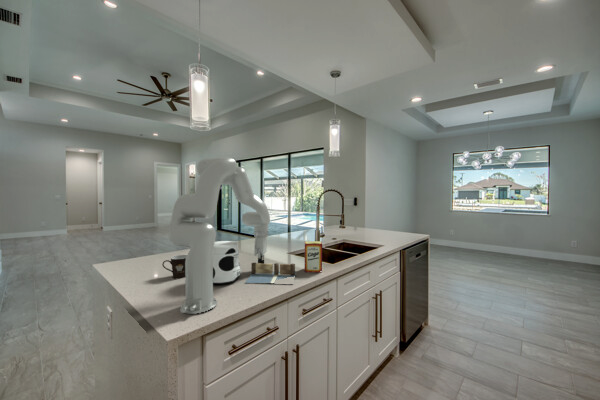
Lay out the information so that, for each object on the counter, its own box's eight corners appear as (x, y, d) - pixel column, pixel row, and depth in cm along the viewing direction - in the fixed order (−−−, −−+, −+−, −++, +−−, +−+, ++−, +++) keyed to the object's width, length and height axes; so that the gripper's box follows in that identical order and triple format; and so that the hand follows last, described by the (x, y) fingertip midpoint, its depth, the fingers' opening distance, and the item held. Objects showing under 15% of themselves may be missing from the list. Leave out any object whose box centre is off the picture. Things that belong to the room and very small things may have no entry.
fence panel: (273, 272, 130) (273, 263, 130) (272, 274, 128) (272, 264, 128) (252, 272, 131) (252, 262, 131) (250, 273, 128) (250, 263, 128)
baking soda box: (304, 272, 134) (304, 242, 134) (304, 268, 141) (304, 240, 141) (322, 272, 134) (322, 243, 134) (321, 268, 141) (321, 240, 141)
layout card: (293, 284, 115) (293, 283, 115) (244, 283, 117) (244, 282, 117) (296, 272, 133) (296, 271, 133) (254, 271, 135) (254, 270, 135)
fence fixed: (295, 275, 129) (295, 263, 129) (294, 276, 127) (294, 264, 127) (274, 274, 130) (274, 263, 130) (273, 275, 128) (273, 264, 128)
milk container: (201, 277, 124) (201, 242, 124) (236, 273, 132) (236, 239, 132) (205, 289, 109) (205, 249, 108) (244, 283, 117) (244, 245, 116)
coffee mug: (192, 274, 130) (192, 255, 130) (183, 279, 121) (183, 259, 121) (171, 273, 131) (171, 254, 131) (161, 278, 122) (161, 258, 122)
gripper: (257, 231, 143) (257, 263, 143) (250, 236, 128) (250, 271, 128) (270, 231, 142) (270, 263, 143) (265, 236, 127) (265, 271, 128)
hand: (261, 267), depth 135 cm, fingers closed
